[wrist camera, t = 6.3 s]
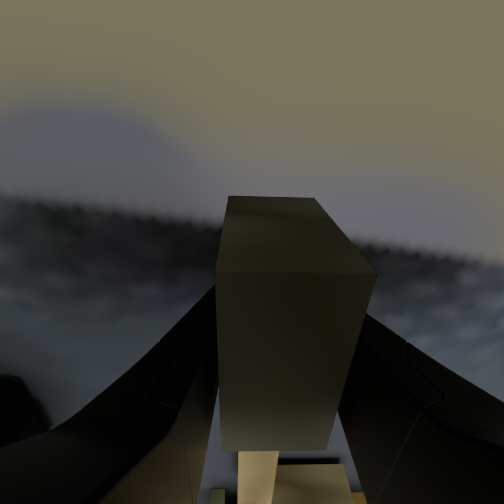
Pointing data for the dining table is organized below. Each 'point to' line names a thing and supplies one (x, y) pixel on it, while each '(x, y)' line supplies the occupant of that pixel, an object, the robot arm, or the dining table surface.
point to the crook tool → (285, 343)
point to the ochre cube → (358, 498)
